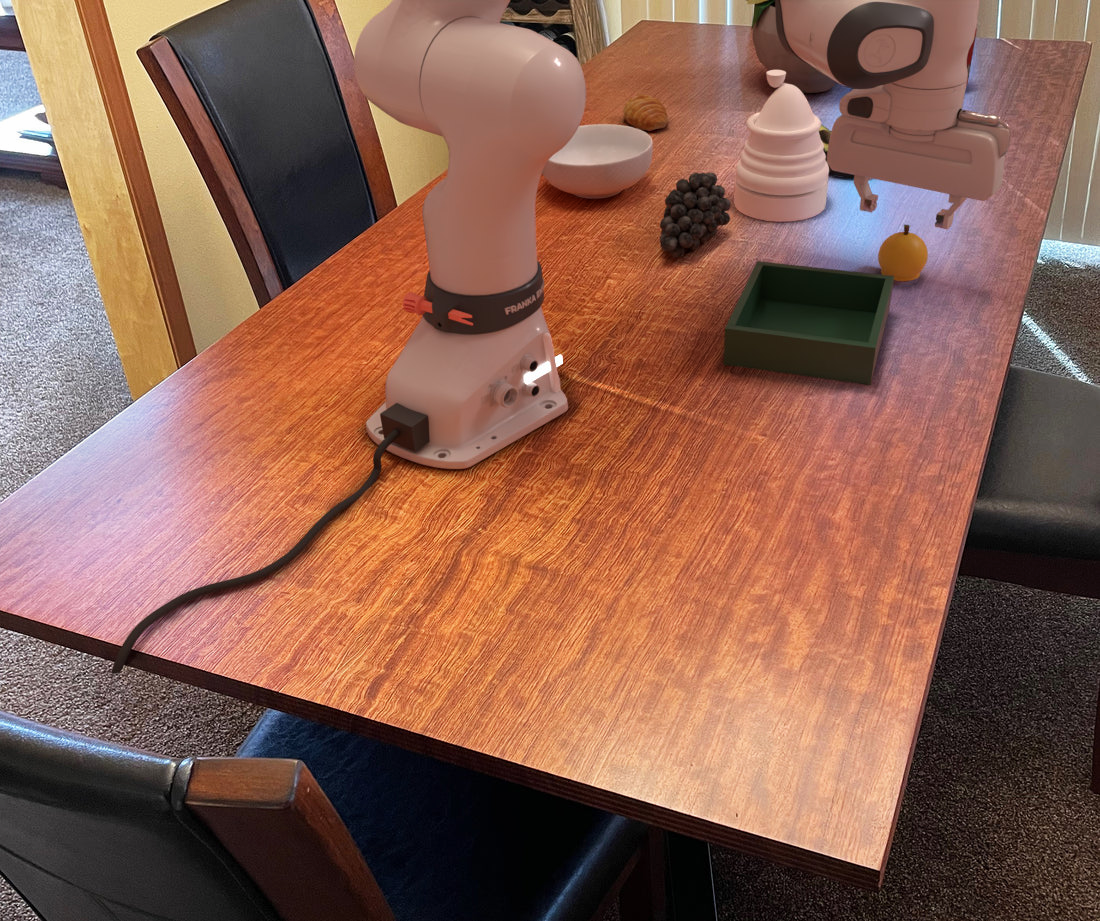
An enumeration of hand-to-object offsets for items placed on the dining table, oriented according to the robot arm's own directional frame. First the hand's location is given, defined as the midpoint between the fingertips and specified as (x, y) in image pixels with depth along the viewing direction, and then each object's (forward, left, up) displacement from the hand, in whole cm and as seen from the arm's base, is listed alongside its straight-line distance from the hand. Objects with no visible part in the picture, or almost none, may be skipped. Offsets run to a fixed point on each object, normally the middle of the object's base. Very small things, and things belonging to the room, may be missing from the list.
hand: (904, 218), depth 133 cm
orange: (0, 0, -8) cm, 8 cm away
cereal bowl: (+6, +48, -8) cm, 50 cm away
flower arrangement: (+63, +40, -8) cm, 75 cm away
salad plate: (+35, +20, -8) cm, 41 cm away
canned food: (+72, +20, -8) cm, 75 cm away
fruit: (-4, +28, -8) cm, 29 cm away
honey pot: (+14, +22, -8) cm, 28 cm away
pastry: (+34, +56, -8) cm, 66 cm away
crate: (-20, +2, -8) cm, 22 cm away
